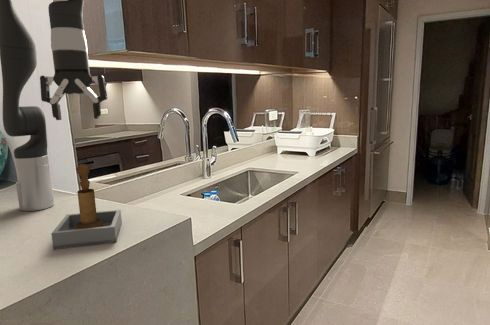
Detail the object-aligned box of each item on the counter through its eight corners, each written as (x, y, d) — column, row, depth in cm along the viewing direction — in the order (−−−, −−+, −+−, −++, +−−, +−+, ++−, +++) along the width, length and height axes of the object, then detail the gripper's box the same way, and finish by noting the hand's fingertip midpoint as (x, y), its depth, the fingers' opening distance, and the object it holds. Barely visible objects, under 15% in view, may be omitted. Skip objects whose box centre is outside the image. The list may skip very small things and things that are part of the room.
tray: (53, 249, 81) (51, 233, 80) (68, 228, 95) (66, 214, 94) (116, 242, 84) (114, 226, 84) (121, 222, 98) (120, 209, 97)
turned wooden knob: (93, 237, 86) (85, 166, 82) (70, 236, 87) (61, 166, 84) (108, 227, 92) (102, 161, 89) (87, 226, 93) (79, 161, 90)
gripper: (104, 52, 86) (110, 117, 89) (41, 52, 83) (50, 119, 86) (99, 48, 79) (106, 119, 82) (30, 47, 76) (40, 121, 79)
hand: (77, 119), depth 84 cm, fingers open, 8 cm apart
